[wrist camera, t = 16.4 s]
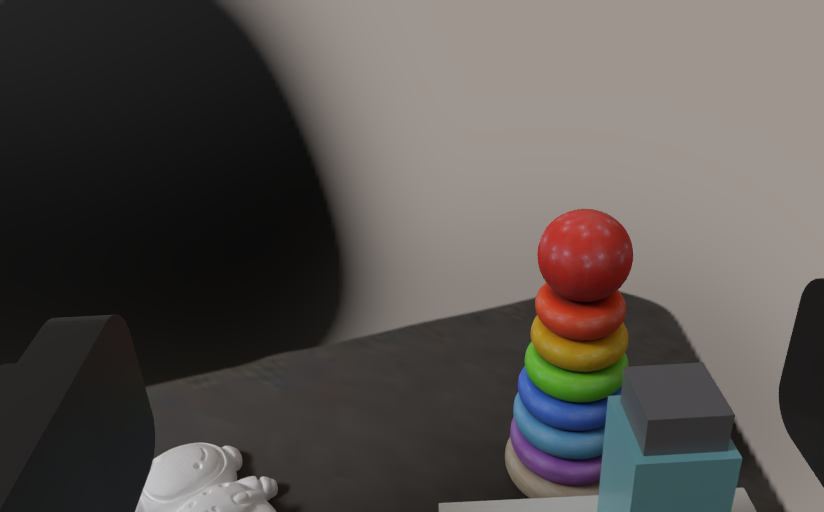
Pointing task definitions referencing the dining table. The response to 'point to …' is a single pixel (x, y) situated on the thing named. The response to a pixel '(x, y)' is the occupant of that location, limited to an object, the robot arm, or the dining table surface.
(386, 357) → the dining table surface
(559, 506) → the recessed white block
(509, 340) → the dining table surface
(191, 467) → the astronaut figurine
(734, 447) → the teal square bottle
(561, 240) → the stacking toy
